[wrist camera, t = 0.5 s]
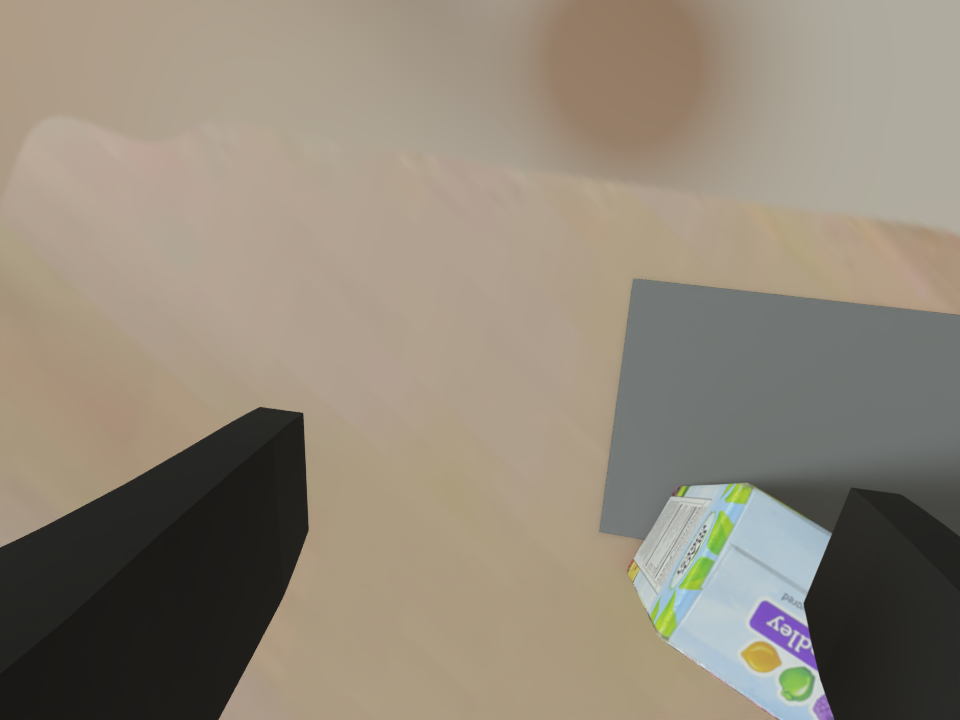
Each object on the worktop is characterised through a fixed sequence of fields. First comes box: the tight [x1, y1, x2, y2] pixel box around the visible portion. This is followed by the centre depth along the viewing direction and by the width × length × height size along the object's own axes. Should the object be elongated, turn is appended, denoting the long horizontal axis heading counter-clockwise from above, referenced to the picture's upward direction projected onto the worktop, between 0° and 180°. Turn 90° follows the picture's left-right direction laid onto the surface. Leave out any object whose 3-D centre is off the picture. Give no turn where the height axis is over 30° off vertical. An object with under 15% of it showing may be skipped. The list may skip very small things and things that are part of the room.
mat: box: [599, 279, 960, 540], centre depth 33 cm, size 13×24×1 cm, turn 80°
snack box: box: [627, 483, 834, 720], centre depth 24 cm, size 21×6×15 cm, turn 57°
